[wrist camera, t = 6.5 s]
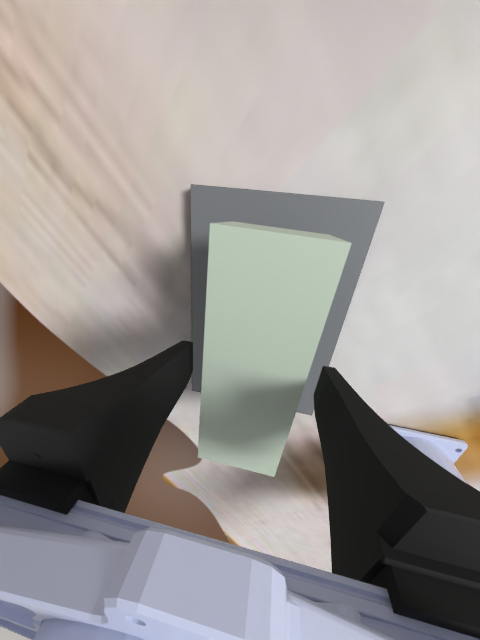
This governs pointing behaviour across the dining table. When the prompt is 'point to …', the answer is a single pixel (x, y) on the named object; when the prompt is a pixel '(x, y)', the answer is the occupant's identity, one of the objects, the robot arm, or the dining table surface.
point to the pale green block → (261, 336)
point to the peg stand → (290, 213)
